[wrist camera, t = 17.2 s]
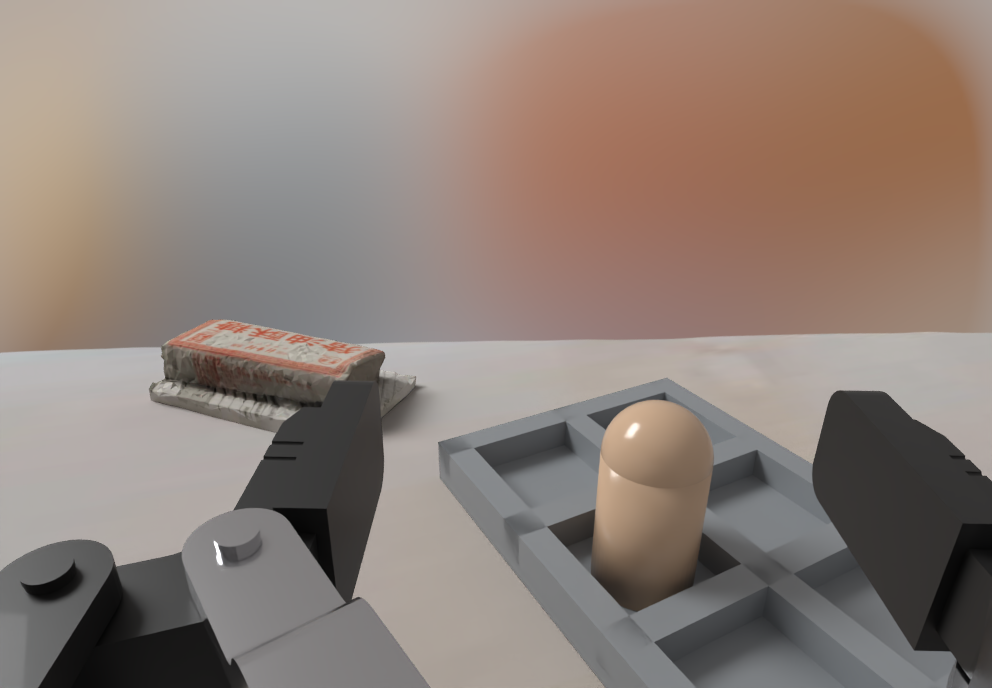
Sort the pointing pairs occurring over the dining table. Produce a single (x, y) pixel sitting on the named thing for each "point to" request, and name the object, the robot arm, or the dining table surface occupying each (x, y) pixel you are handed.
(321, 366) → the packaged product
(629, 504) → the tan domed cylinder
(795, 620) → the grey compartment tray
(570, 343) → the dining table surface
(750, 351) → the dining table surface
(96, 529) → the dining table surface
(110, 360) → the dining table surface
